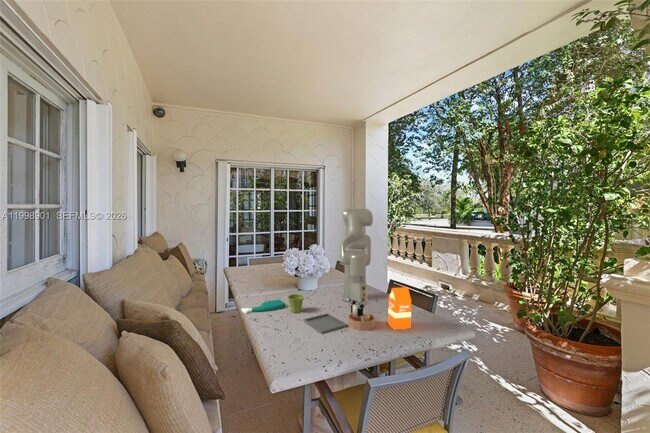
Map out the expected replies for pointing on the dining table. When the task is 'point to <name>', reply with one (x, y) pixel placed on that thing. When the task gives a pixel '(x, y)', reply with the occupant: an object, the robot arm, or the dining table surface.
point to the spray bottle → (266, 306)
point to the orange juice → (399, 308)
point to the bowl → (360, 323)
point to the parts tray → (325, 323)
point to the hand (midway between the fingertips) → (356, 313)
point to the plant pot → (295, 302)
